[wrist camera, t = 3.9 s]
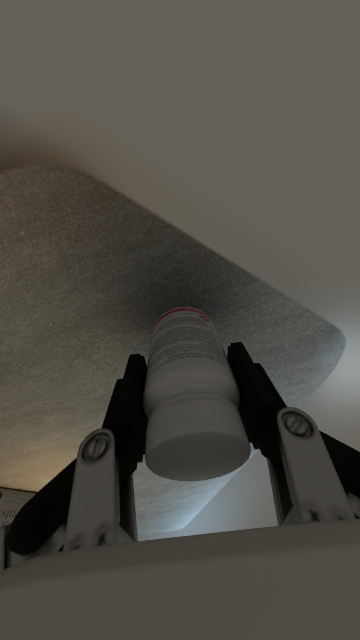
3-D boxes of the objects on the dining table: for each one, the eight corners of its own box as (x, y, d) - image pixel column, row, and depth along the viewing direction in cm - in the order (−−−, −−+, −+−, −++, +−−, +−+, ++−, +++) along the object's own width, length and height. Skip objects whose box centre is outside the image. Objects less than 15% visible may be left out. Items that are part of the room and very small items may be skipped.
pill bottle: (139, 326, 13) (104, 457, 6) (193, 292, 12) (227, 403, 5) (175, 364, 16) (181, 495, 8) (224, 338, 14) (280, 462, 7)
